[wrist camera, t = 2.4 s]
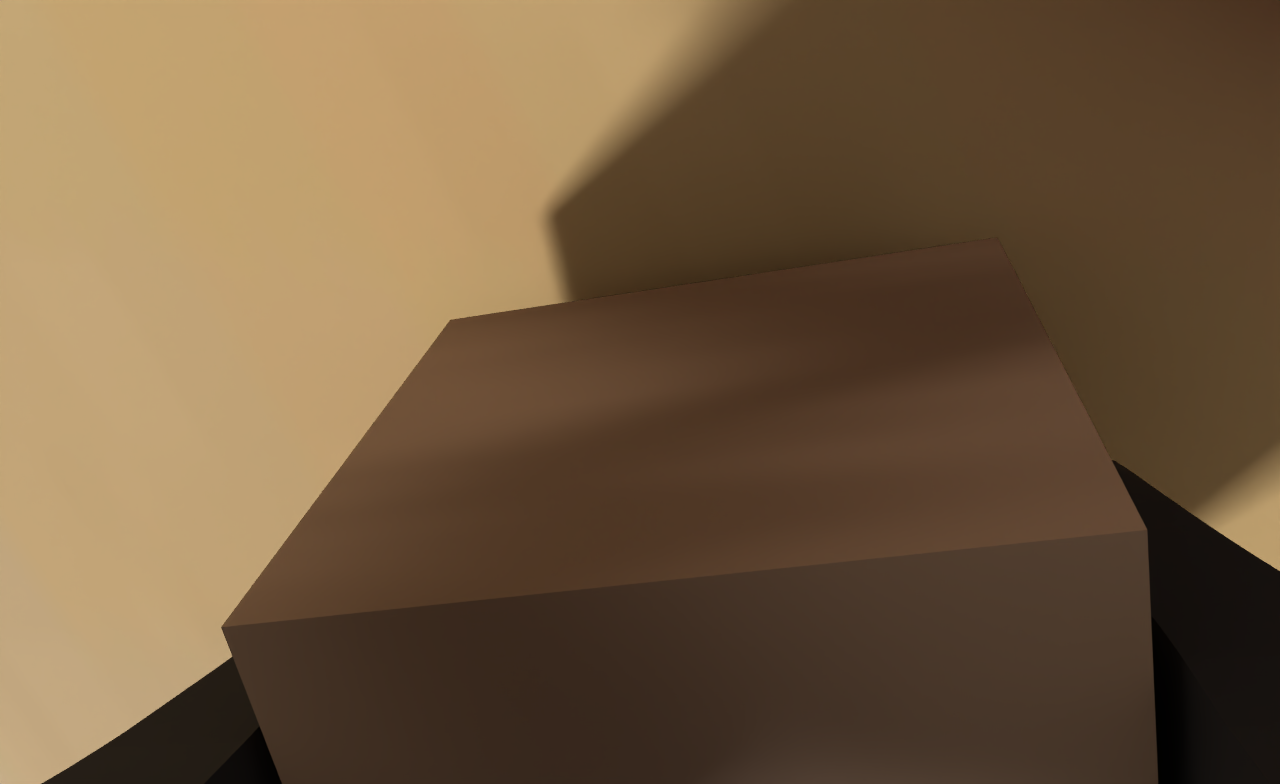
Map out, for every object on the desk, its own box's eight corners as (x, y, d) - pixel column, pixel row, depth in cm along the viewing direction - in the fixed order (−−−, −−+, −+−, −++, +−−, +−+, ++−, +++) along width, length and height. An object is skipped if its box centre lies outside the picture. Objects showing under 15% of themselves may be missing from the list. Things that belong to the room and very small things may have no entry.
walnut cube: (996, 237, 11) (1146, 530, 6) (1038, 706, 12) (1175, 1198, 8) (450, 319, 11) (220, 628, 7) (566, 743, 13) (446, 1203, 9)
